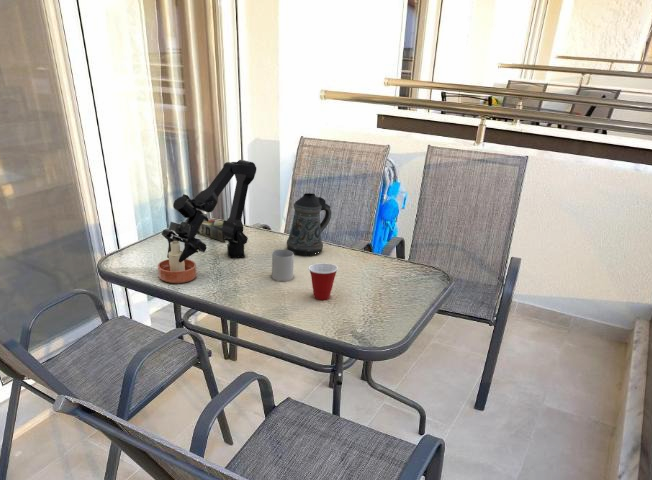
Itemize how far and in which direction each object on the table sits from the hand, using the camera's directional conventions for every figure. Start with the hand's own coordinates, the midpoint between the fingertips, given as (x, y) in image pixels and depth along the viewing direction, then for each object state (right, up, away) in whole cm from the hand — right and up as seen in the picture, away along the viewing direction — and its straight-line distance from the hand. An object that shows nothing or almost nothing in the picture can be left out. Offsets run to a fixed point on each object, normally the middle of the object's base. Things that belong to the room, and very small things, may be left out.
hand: (173, 259), depth 192 cm
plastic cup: (+56, -15, -3) cm, 58 cm away
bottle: (0, -5, +4) cm, 7 cm away
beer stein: (+50, +12, +40) cm, 65 cm away
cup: (+41, -5, +11) cm, 42 cm away
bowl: (0, -6, +5) cm, 8 cm away
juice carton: (+6, +21, +49) cm, 54 cm away
